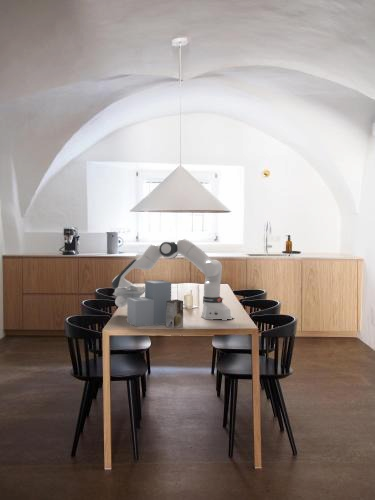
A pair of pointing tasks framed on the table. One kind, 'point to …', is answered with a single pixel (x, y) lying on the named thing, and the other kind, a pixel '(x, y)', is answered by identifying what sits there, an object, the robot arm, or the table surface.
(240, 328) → the table surface
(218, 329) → the table surface
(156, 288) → the stepped stand
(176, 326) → the coffee box
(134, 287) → the long bar
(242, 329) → the table surface
